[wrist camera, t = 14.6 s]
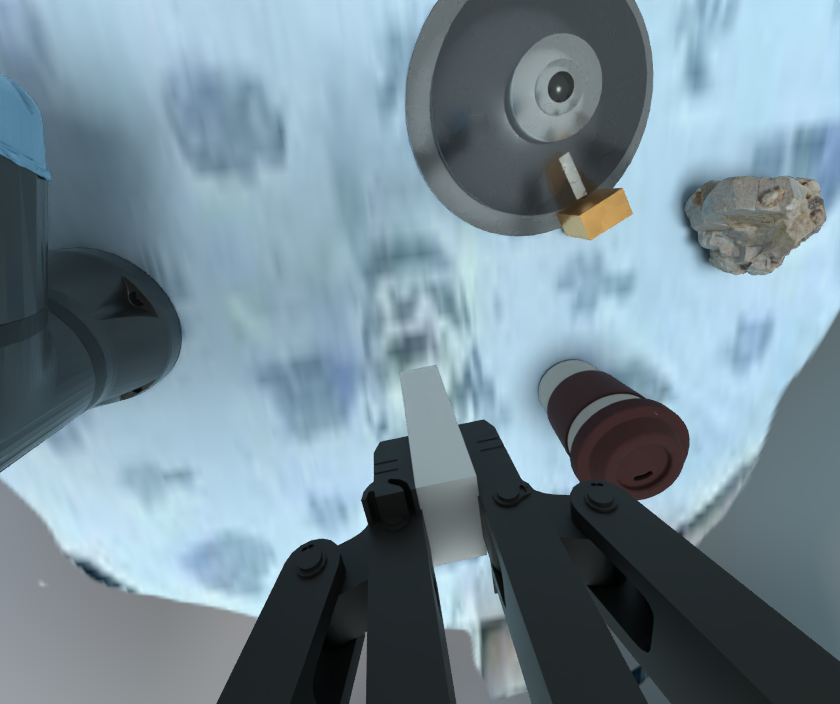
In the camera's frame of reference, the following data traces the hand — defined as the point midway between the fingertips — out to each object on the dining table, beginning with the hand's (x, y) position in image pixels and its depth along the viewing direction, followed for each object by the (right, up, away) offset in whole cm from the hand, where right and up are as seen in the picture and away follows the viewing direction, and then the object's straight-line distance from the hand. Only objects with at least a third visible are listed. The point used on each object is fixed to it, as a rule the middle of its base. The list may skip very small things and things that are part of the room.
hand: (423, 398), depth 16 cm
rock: (+31, +15, +24) cm, 42 cm away
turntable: (+10, +22, +19) cm, 31 cm away
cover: (+10, +23, +16) cm, 30 cm away
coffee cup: (+17, -2, +30) cm, 35 cm away
